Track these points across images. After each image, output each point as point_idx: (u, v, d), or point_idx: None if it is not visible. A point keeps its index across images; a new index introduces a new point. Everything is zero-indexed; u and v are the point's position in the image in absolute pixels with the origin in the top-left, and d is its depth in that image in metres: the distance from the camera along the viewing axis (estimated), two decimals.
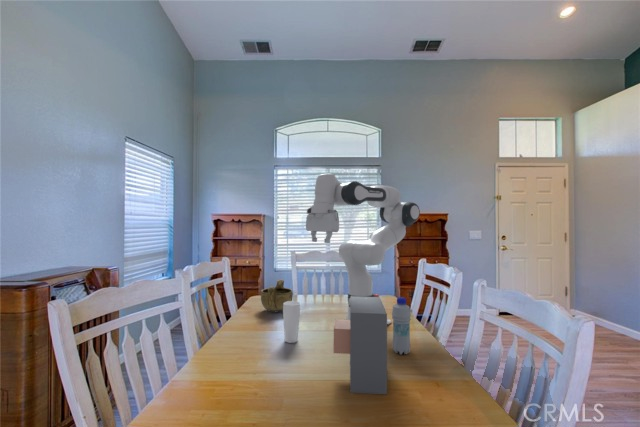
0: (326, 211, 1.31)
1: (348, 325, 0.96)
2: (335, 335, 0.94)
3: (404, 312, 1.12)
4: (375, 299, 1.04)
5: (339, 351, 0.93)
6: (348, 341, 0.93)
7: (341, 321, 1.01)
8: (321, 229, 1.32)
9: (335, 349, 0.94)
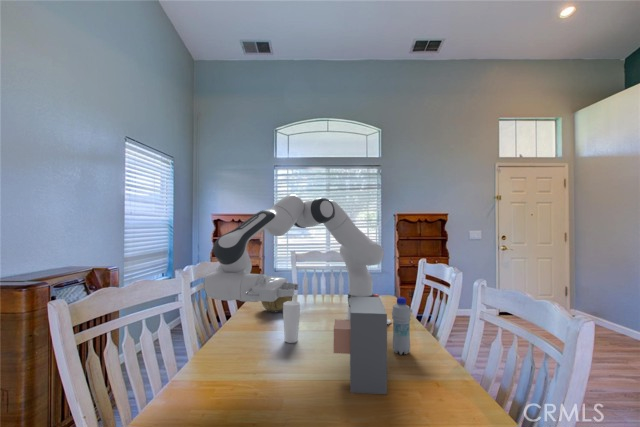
0: None
1: (348, 325, 0.96)
2: (335, 335, 0.94)
3: (404, 312, 1.12)
4: (375, 299, 1.04)
5: (339, 351, 0.93)
6: (348, 341, 0.93)
7: (341, 321, 1.01)
8: None
9: (335, 349, 0.94)
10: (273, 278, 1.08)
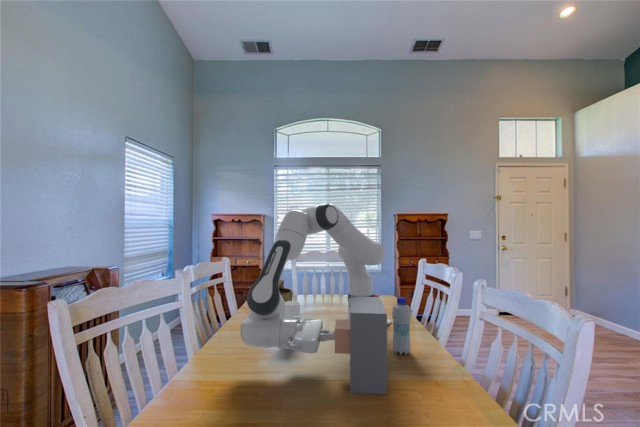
0: None
1: (350, 326, 0.96)
2: (336, 335, 0.94)
3: (404, 312, 1.12)
4: (375, 299, 1.04)
5: (340, 351, 0.93)
6: (349, 341, 0.93)
7: (342, 321, 1.01)
8: None
9: (336, 349, 0.94)
10: (308, 320, 1.07)
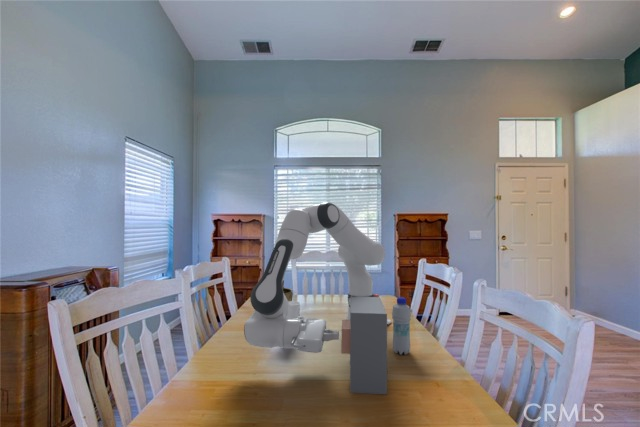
0: None
1: None
2: (343, 335, 0.94)
3: (404, 312, 1.12)
4: (375, 299, 1.04)
5: (347, 351, 0.93)
6: None
7: (348, 321, 1.01)
8: None
9: (343, 349, 0.93)
10: (312, 320, 1.07)
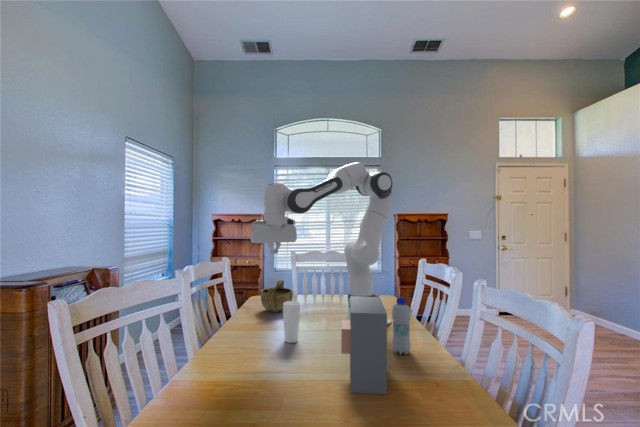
0: None
1: None
2: (343, 335, 0.94)
3: (404, 312, 1.12)
4: (375, 299, 1.04)
5: (347, 351, 0.93)
6: None
7: (348, 321, 1.01)
8: None
9: (343, 349, 0.93)
10: (292, 231, 1.36)
